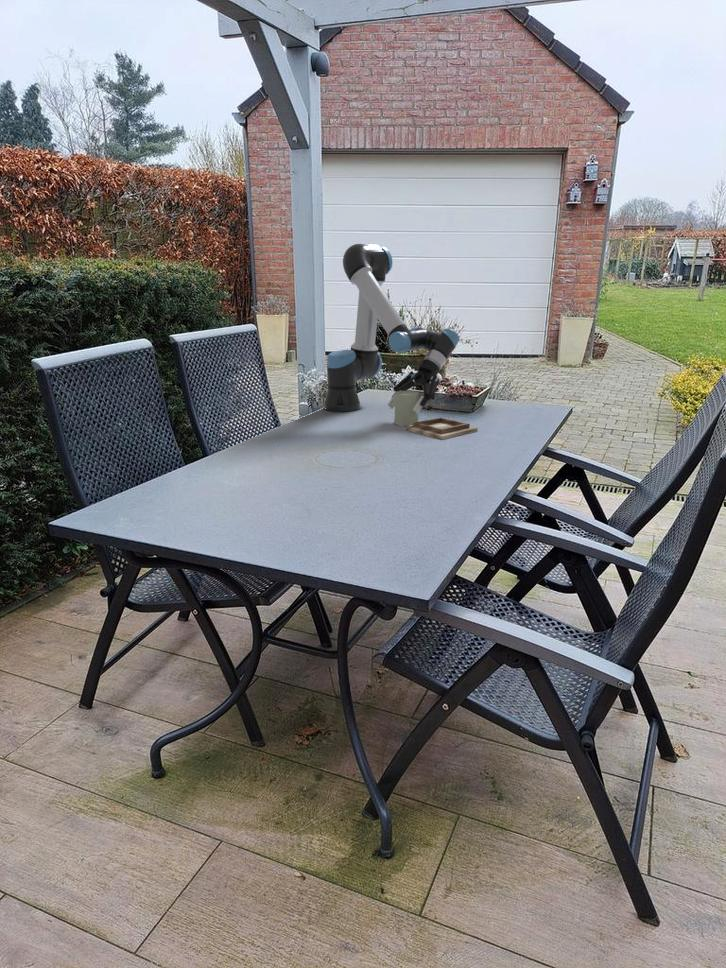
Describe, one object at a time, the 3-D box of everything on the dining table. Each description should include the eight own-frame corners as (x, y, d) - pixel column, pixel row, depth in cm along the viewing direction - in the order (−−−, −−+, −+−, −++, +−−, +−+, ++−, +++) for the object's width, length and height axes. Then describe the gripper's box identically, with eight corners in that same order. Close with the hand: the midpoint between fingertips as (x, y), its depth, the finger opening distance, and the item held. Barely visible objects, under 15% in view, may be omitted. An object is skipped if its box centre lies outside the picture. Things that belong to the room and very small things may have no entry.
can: (389, 422, 242) (390, 390, 238) (411, 419, 246) (411, 388, 242) (401, 427, 234) (401, 394, 230) (423, 424, 238) (423, 392, 234)
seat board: (405, 430, 229) (405, 422, 228) (440, 422, 240) (440, 415, 239) (442, 439, 216) (442, 431, 215) (477, 431, 227) (477, 423, 226)
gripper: (461, 374, 234) (431, 420, 230) (413, 367, 253) (385, 410, 248) (451, 361, 229) (421, 408, 225) (404, 355, 248) (374, 398, 243)
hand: (402, 409), depth 237 cm, fingers open, 13 cm apart
